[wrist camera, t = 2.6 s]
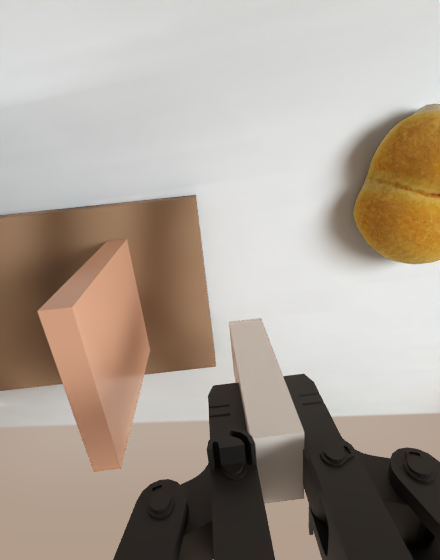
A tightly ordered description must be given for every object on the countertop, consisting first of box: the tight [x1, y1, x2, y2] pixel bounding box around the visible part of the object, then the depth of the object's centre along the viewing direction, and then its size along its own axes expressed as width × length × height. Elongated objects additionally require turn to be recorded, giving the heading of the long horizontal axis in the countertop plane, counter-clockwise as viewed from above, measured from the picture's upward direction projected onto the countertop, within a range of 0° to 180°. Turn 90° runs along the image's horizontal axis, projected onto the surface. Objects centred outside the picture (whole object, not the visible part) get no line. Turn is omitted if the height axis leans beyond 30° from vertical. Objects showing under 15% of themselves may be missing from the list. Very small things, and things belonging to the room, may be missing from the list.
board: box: [0, 195, 216, 391], centre depth 21 cm, size 18×12×1 cm, turn 95°
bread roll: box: [353, 104, 440, 264], centre depth 19 cm, size 8×9×4 cm
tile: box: [37, 239, 150, 472], centre depth 17 cm, size 1×8×9 cm, turn 5°
